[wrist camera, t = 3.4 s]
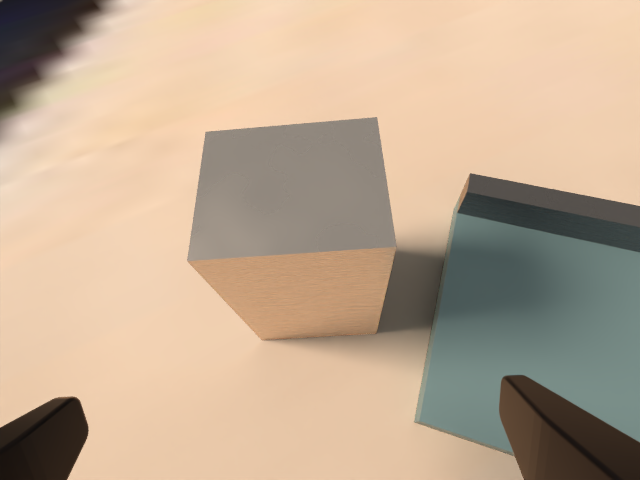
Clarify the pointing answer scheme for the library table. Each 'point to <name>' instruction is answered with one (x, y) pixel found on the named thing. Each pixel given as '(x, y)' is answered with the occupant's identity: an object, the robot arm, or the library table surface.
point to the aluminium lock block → (296, 227)
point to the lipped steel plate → (534, 308)
